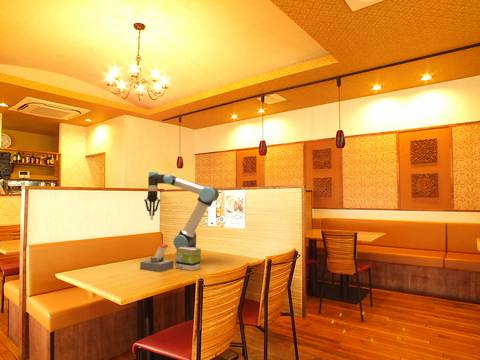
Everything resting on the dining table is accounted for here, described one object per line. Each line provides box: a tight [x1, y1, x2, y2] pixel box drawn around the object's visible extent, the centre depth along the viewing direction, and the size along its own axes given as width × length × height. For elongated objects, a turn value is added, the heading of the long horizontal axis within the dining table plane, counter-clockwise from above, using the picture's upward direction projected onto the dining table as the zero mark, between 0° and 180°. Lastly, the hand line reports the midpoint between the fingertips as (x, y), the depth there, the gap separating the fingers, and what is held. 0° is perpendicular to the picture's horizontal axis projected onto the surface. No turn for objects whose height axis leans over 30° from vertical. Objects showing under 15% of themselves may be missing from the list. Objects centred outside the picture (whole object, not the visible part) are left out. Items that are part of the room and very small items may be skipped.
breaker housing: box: [139, 255, 174, 273], centre depth 217 cm, size 18×14×8 cm
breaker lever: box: [153, 243, 168, 261], centre depth 216 cm, size 3×6×13 cm, turn 154°
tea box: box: [175, 246, 202, 272], centre depth 219 cm, size 15×10×15 cm
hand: (151, 220), depth 245 cm, fingers closed
